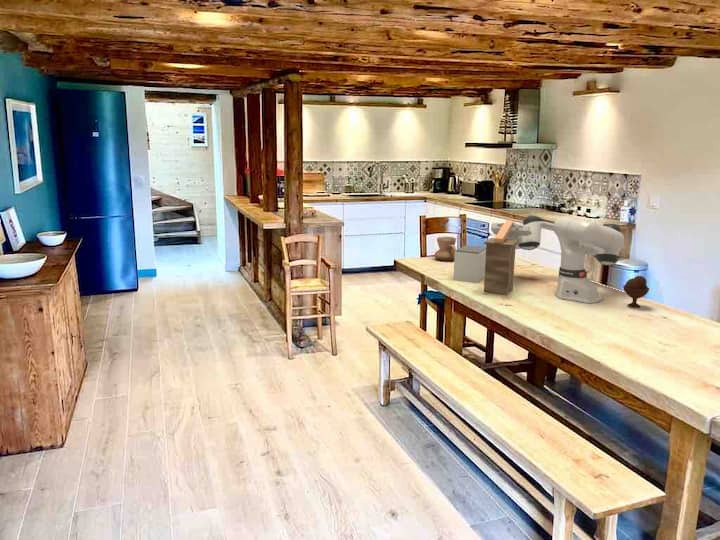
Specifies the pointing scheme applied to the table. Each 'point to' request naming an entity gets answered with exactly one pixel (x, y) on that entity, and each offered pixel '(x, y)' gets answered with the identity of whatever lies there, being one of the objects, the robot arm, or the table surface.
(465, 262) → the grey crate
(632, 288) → the ice cream bowl
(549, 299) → the table surface
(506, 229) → the terracotta block
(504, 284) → the walnut stand
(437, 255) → the ceramic jug
